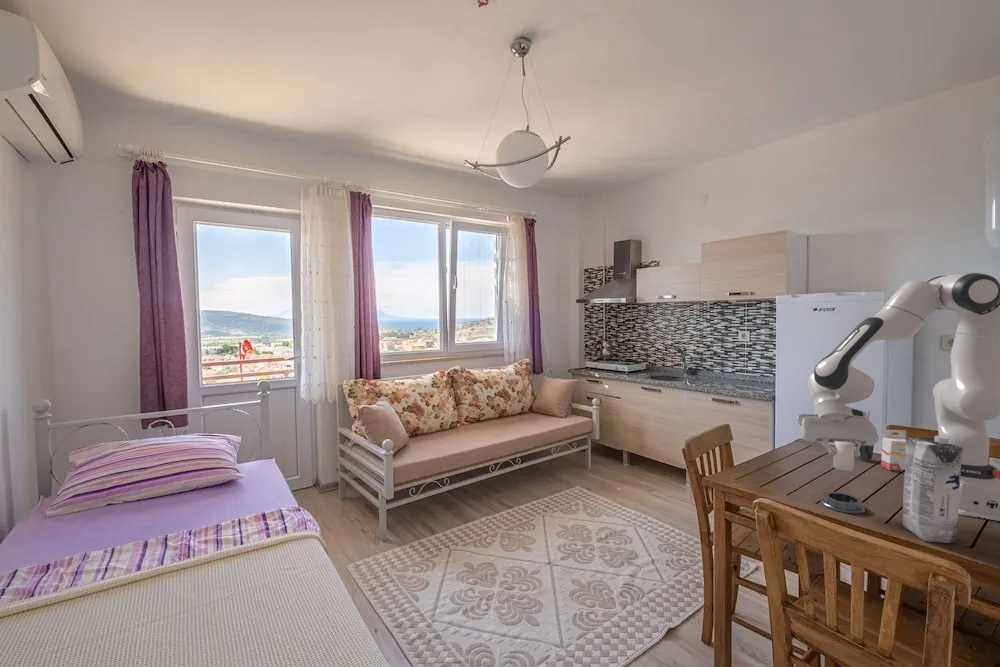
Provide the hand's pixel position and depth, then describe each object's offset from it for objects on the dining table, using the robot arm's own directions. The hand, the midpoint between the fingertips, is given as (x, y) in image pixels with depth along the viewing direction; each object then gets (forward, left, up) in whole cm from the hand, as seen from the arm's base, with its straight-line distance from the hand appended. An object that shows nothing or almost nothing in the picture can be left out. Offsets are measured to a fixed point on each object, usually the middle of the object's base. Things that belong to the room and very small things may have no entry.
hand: (844, 454), depth 140 cm
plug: (0, -1, -4) cm, 4 cm away
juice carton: (-19, +7, -17) cm, 26 cm away
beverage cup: (-4, -61, -17) cm, 63 cm away
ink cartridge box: (-14, -55, -17) cm, 59 cm away
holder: (0, -1, -16) cm, 16 cm away
